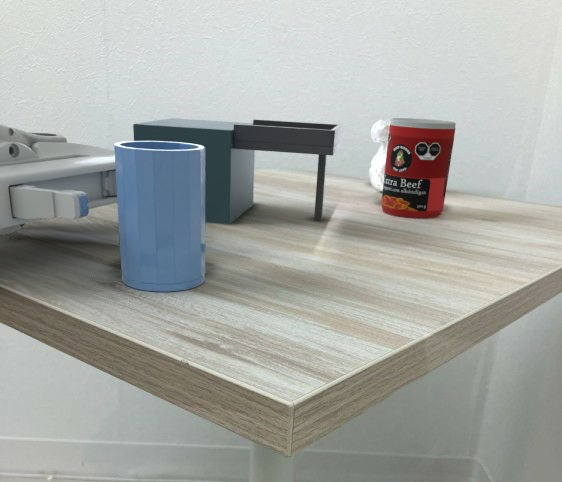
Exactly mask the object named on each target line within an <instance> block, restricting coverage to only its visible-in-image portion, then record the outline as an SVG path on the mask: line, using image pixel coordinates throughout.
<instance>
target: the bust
mask: <svg viewBox="0 0 562 482" xmlns="http://www.w3.org/2000/svg"><path fill="white" fill-rule="evenodd" d="M391 119H392V118H388V119H385V120H384V119H379V120H377V121H376V122H375V123H373V125H372V126H371V129H370V138H371V140H372V142H373V143H379V144H380V147H379V149H378V150H377V152H376V154H375V155H373V157H372V158H371V162H370V167H369V169H368V175H369V176H368V177H369V179H370V180H369V181H370V183H371V186H372V188H373V189H374V190H375V191H376V192H383V182H384V173H385V164H386V154H387V145H388V136H389V128H390V123H391Z"/></svg>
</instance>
